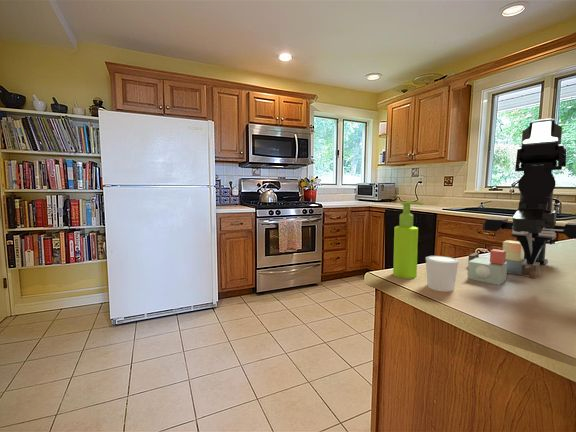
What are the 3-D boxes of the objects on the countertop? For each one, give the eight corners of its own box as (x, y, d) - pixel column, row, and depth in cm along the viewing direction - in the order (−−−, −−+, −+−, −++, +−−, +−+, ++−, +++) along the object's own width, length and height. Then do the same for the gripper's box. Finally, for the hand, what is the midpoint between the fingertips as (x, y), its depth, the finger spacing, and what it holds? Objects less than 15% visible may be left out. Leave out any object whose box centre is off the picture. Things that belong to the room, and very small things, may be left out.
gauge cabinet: (475, 273, 79) (476, 257, 78) (506, 279, 73) (507, 262, 73) (467, 278, 75) (468, 261, 74) (498, 285, 69) (499, 266, 69)
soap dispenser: (423, 279, 74) (425, 202, 73) (395, 277, 76) (397, 202, 74) (417, 272, 80) (420, 201, 78) (391, 271, 82) (393, 201, 80)
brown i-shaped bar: (468, 266, 86) (468, 255, 86) (473, 263, 89) (474, 252, 89) (535, 278, 74) (536, 265, 74) (538, 274, 77) (539, 262, 77)
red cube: (492, 260, 74) (493, 249, 74) (505, 262, 72) (506, 250, 72) (489, 262, 72) (490, 250, 72) (502, 264, 70) (503, 252, 70)
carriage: (498, 270, 80) (500, 241, 79) (503, 267, 83) (505, 239, 82) (521, 274, 76) (523, 244, 75) (525, 270, 79) (527, 242, 79)
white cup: (430, 280, 73) (431, 253, 73) (461, 287, 68) (462, 258, 68) (420, 287, 68) (421, 258, 68) (452, 294, 64) (453, 263, 63)
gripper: (476, 197, 67) (473, 262, 69) (592, 199, 53) (584, 281, 55) (491, 196, 75) (488, 255, 76) (596, 197, 60) (590, 270, 62)
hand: (531, 264), depth 67 cm, fingers closed
